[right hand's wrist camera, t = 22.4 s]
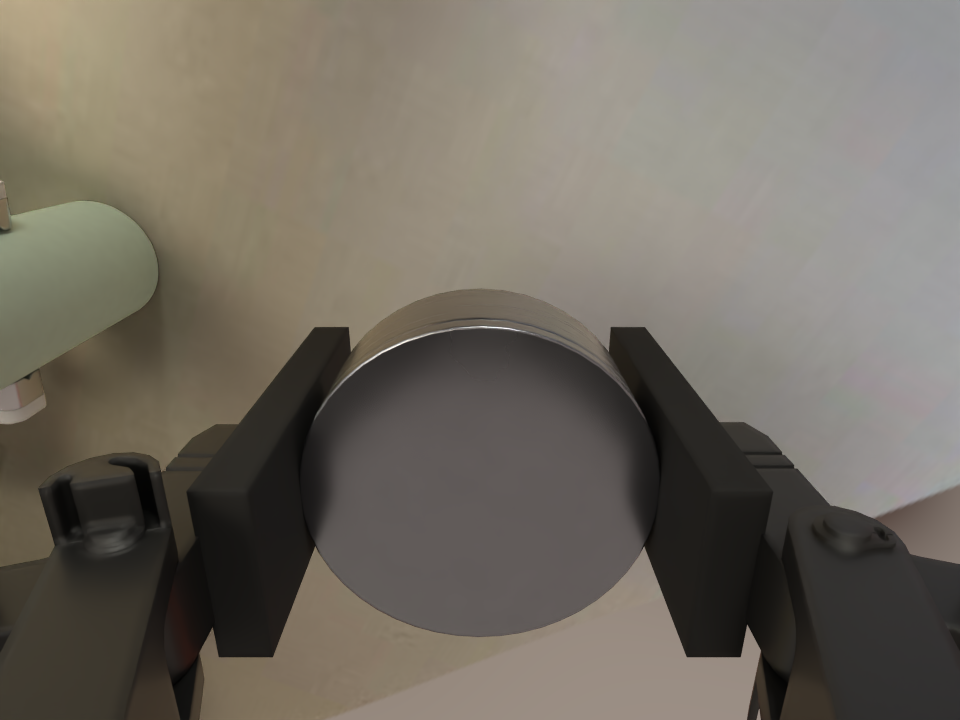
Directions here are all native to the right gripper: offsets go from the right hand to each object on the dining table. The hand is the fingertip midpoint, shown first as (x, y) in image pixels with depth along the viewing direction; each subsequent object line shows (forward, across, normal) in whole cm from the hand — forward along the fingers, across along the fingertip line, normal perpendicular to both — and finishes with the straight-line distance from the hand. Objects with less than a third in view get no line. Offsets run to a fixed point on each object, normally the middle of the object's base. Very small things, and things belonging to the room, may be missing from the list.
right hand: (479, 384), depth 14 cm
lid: (-4, 0, 0) cm, 4 cm away
